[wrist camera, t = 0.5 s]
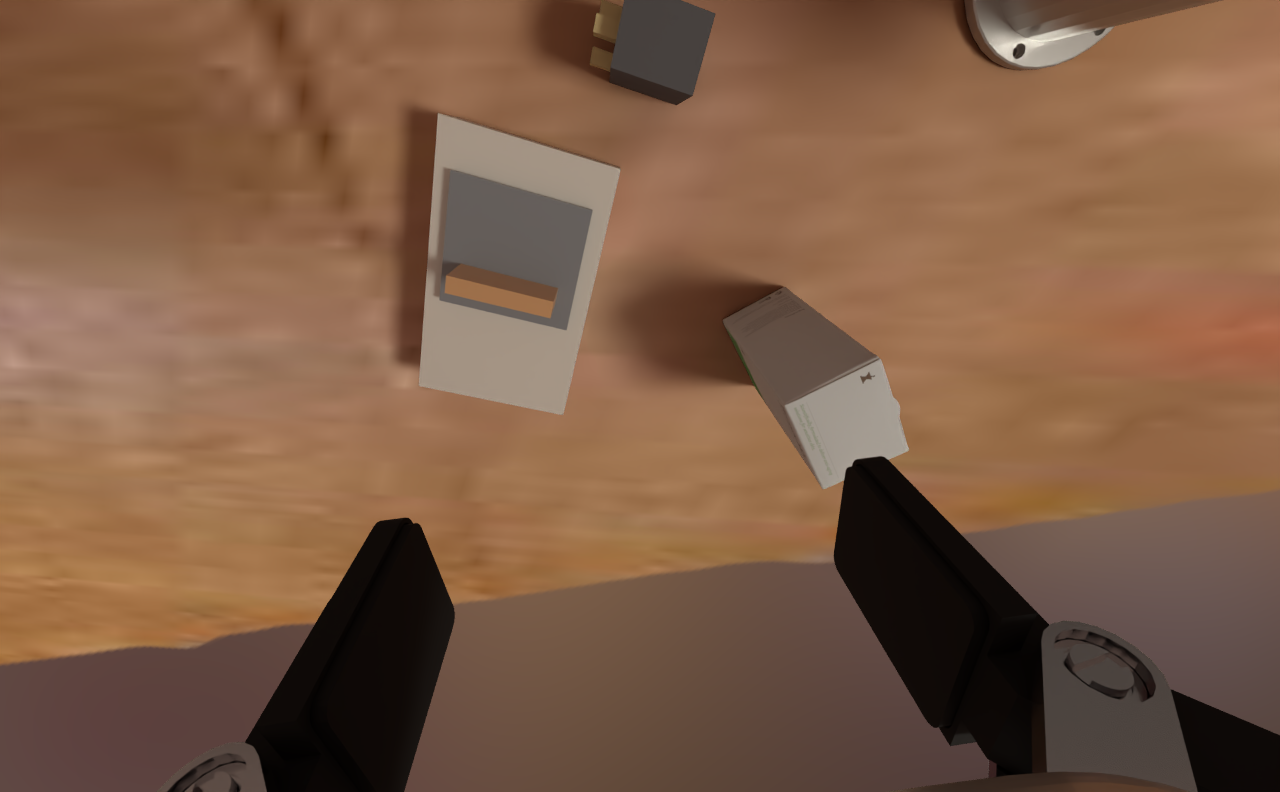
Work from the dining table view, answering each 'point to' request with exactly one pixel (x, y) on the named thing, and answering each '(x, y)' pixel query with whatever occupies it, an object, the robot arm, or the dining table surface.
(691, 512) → the dining table surface
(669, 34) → the plug
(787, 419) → the skincare box
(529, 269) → the shutter
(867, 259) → the dining table surface
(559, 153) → the socket block
